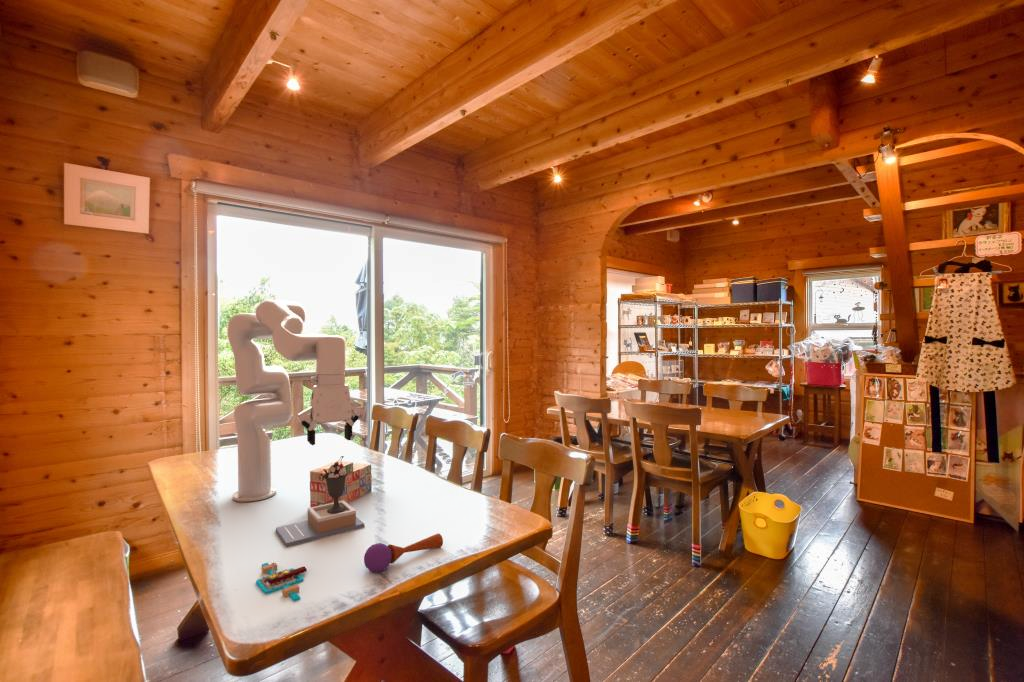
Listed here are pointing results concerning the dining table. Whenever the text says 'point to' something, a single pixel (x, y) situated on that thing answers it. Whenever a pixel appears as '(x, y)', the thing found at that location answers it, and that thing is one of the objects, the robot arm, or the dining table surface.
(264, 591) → the gear mechanism
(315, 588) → the dining table surface
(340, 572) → the dining table surface
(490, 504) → the dining table surface
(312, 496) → the stack of blocks
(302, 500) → the dining table surface
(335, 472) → the sundae
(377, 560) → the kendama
